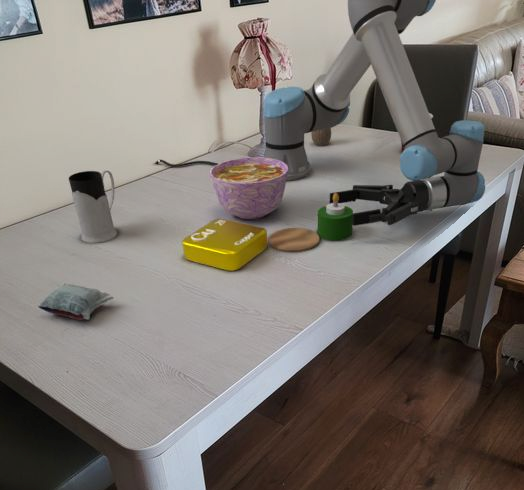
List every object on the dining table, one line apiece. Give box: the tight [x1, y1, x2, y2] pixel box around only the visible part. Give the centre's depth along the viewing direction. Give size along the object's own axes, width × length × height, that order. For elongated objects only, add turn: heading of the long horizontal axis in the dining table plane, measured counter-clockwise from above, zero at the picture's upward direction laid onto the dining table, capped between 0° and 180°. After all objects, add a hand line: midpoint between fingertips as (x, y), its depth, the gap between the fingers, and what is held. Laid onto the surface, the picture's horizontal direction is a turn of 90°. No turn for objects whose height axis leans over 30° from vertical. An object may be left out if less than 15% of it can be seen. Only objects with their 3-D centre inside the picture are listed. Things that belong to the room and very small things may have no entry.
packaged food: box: [37, 283, 114, 321], centre depth 105 cm, size 9×12×5 cm
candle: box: [316, 193, 354, 242], centre depth 127 cm, size 8×8×10 cm
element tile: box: [181, 218, 268, 272], centre depth 123 cm, size 15×15×5 cm
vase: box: [310, 128, 332, 147], centre depth 187 cm, size 7×7×9 cm
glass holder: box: [68, 170, 118, 244], centre depth 133 cm, size 9×14×15 cm, turn 158°
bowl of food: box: [209, 156, 289, 220], centre depth 139 cm, size 20×20×12 cm
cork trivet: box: [268, 227, 320, 253], centre depth 128 cm, size 12×12×1 cm
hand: (341, 209), depth 126 cm, fingers open, 13 cm apart
